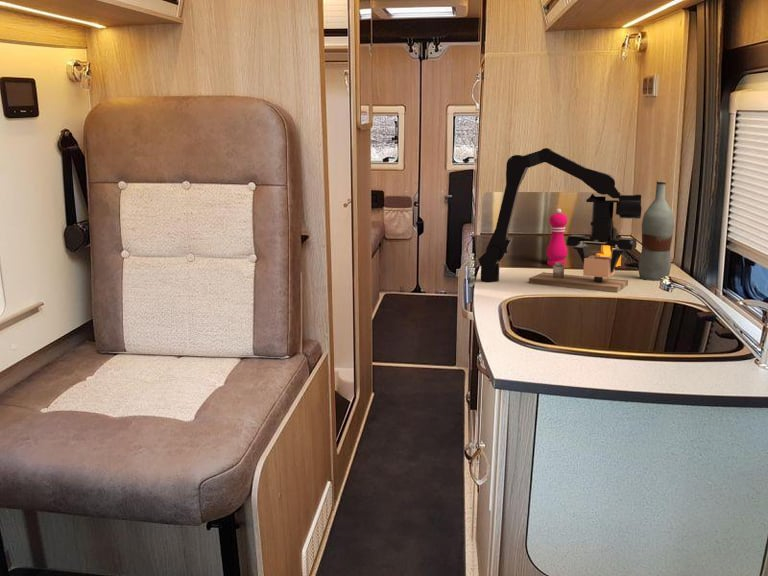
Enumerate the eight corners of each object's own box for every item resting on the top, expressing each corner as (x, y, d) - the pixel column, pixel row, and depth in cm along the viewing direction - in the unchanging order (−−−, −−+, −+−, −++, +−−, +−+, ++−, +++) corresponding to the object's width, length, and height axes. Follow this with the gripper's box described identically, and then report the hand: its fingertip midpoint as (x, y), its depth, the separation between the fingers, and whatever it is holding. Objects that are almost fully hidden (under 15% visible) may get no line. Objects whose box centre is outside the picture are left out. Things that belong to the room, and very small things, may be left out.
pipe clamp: (595, 262, 228) (596, 244, 226) (607, 261, 228) (608, 244, 226) (608, 267, 216) (609, 249, 215) (620, 267, 216) (621, 248, 215)
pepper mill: (552, 267, 216) (555, 209, 212) (541, 264, 223) (544, 208, 219) (570, 266, 218) (573, 209, 214) (559, 263, 225) (562, 207, 221)
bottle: (636, 279, 193) (644, 181, 187) (638, 274, 201) (645, 180, 195) (670, 281, 189) (678, 181, 183) (670, 276, 197) (678, 180, 191)
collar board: (617, 292, 175) (618, 271, 173) (528, 283, 189) (529, 263, 188) (627, 285, 184) (629, 265, 183) (543, 276, 199) (543, 258, 198)
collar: (607, 277, 178) (608, 260, 177) (583, 275, 182) (584, 258, 181) (614, 274, 184) (615, 257, 182) (590, 271, 187) (591, 255, 186)
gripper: (642, 217, 181) (638, 270, 184) (578, 214, 191) (576, 264, 194) (633, 220, 172) (629, 275, 175) (566, 217, 182) (564, 269, 185)
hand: (599, 271), depth 182 cm, fingers closed on collar, 7 cm apart
